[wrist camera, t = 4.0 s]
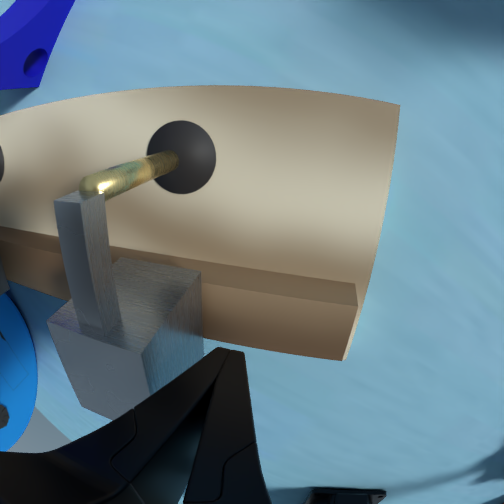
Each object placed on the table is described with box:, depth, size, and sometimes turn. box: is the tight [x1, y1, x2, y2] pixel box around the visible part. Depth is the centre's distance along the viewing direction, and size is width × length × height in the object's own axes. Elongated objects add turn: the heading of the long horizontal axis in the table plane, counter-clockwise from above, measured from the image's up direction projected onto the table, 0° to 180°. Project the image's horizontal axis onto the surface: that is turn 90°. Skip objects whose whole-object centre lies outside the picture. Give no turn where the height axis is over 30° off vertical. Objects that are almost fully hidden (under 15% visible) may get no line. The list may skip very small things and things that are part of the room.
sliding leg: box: [46, 150, 204, 420], centre depth 9 cm, size 7×3×5 cm, turn 177°
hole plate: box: [0, 85, 400, 361], centre depth 10 cm, size 10×22×8 cm, turn 87°
